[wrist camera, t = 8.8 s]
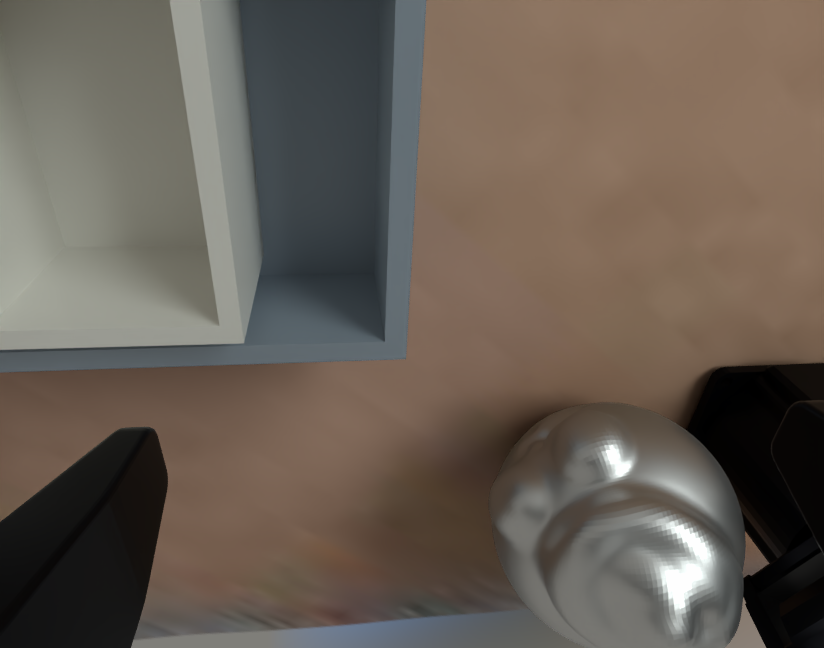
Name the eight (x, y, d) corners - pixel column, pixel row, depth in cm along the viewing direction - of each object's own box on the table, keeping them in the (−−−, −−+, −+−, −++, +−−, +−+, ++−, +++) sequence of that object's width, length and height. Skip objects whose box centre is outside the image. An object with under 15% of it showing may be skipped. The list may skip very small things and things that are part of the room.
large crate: (390, 281, 19) (405, 358, 15) (-64, 287, 17) (-175, 377, 14) (404, -134, 13) (436, -175, 9) (-283, -194, 11) (-593, -276, 8)
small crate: (264, 254, 18) (244, 343, 13) (58, 255, 17) (-32, 350, 13) (234, -53, 13) (192, -63, 9) (-44, -72, 12) (-231, -92, 8)
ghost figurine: (683, 329, 22) (899, 547, 14) (647, 489, 27) (788, 718, 19) (460, 361, 22) (545, 609, 13) (466, 518, 27) (530, 768, 18)
